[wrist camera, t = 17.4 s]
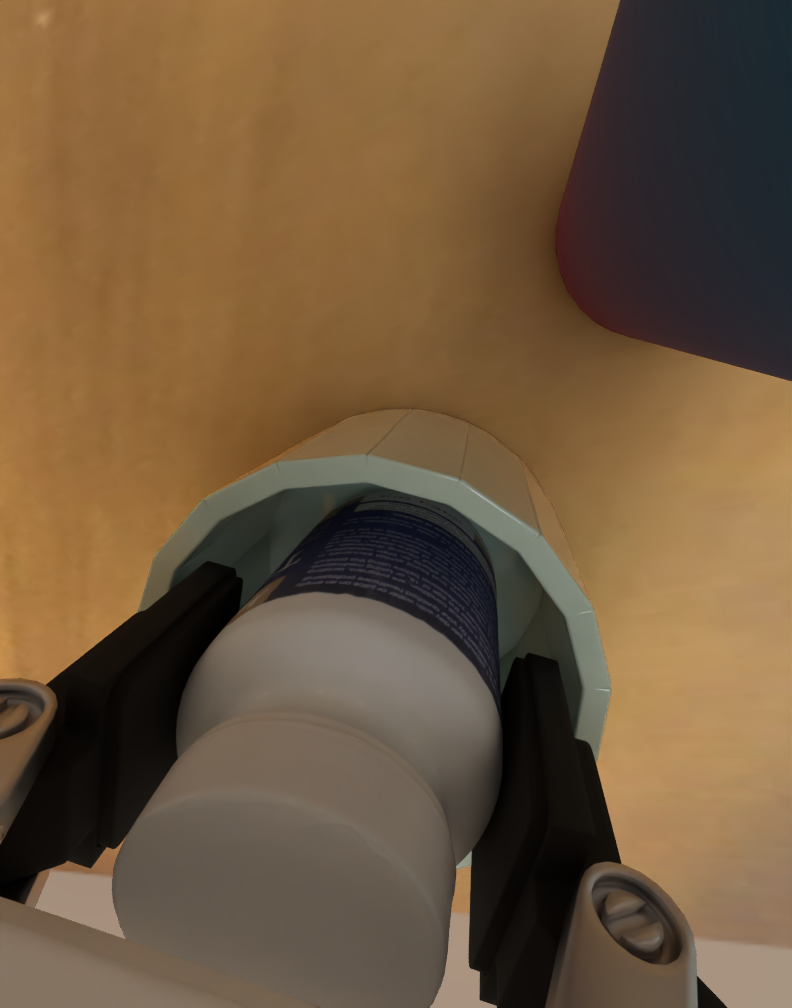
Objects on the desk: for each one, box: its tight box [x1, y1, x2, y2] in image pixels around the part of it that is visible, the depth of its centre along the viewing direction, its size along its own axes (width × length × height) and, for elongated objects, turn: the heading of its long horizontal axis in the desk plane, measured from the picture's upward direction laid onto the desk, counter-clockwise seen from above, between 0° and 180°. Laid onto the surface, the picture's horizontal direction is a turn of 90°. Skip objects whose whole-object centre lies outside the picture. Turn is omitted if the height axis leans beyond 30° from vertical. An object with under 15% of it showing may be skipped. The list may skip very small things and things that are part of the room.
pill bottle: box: [112, 490, 503, 1008], centre depth 11 cm, size 5×5×10 cm
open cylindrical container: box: [138, 409, 611, 869], centre depth 13 cm, size 9×9×6 cm
